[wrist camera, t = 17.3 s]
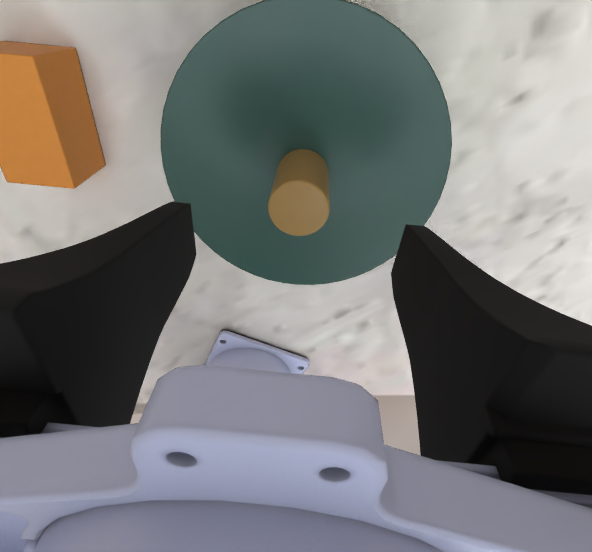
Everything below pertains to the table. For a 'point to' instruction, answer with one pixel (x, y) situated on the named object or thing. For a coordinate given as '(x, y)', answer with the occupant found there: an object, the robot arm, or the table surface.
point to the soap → (45, 117)
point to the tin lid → (306, 139)
